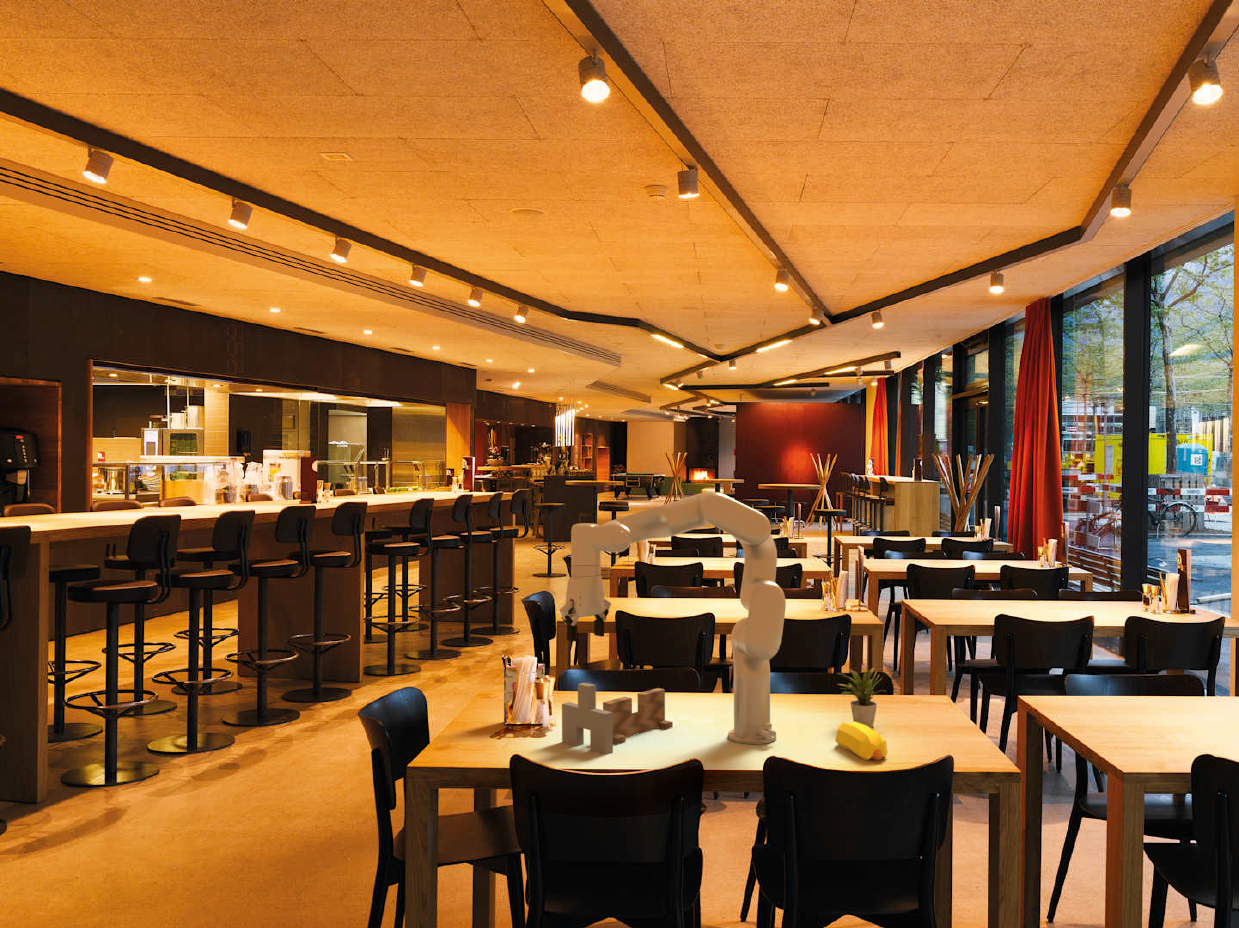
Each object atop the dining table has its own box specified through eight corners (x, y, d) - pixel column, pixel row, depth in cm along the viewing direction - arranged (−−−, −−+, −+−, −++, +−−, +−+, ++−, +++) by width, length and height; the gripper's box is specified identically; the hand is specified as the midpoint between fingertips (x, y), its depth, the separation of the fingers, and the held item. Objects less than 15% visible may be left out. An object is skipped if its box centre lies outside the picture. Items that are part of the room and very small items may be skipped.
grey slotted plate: (612, 752, 239) (612, 688, 240) (605, 754, 238) (605, 690, 238) (569, 740, 250) (568, 679, 251) (562, 742, 249) (561, 680, 249)
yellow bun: (856, 741, 248) (830, 744, 246) (856, 716, 248) (829, 718, 246) (894, 762, 231) (865, 765, 229) (893, 734, 231) (865, 737, 229)
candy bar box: (503, 726, 265) (503, 667, 265) (505, 721, 270) (505, 663, 270) (544, 725, 265) (543, 666, 265) (544, 720, 270) (544, 662, 270)
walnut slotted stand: (650, 722, 268) (650, 686, 268) (672, 727, 262) (672, 690, 262) (595, 738, 252) (595, 700, 252) (617, 744, 246) (617, 705, 246)
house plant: (846, 715, 274) (846, 658, 274) (894, 721, 267) (894, 663, 267) (830, 727, 262) (830, 667, 262) (880, 733, 255) (880, 672, 255)
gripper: (599, 568, 253) (599, 632, 253) (551, 573, 241) (551, 640, 241) (619, 570, 248) (619, 635, 248) (571, 575, 236) (571, 644, 235)
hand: (585, 638), depth 244 cm, fingers open, 9 cm apart
